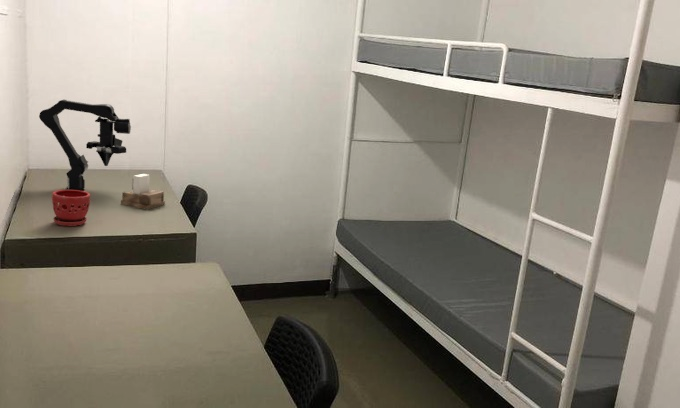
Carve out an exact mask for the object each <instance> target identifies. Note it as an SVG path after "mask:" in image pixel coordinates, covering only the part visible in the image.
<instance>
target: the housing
mask: <svg viewBox="0 0 680 408" xmlns="http://www.w3.org/2000/svg"><path fill="white" fill-rule="evenodd" d="M164 197H165V193H164V191H163V190H157V189H152V190H149V191H148V192H144V193H140V194H139V195H138V194H133V192H129V191H123V192H122V199H121V200H120V204H121V205H125V206H130V207H133V208H139V209H142V210H149V209H153V208H157V206H158V207H160V206H164V204H165V205H166V201H165V200H164V199H165V198H164Z"/></svg>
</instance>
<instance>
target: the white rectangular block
mask: <svg viewBox="0 0 680 408" xmlns="http://www.w3.org/2000/svg"><path fill="white" fill-rule="evenodd" d="M150 180H151V178H150V174H147V173H141V174H136V175H133V177H132V184H131V185H132V188H131V189H132V193H133V194H138V195H139V194H140V193H144V192H148V191H150Z"/></svg>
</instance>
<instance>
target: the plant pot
mask: <svg viewBox="0 0 680 408" xmlns="http://www.w3.org/2000/svg"><path fill="white" fill-rule="evenodd" d="M51 198H52V208H53V212H54V215H55V216H54V217H53V221H54V223H56V224H57V225H59V226H64V227H76V226H80V225H81V226H82V225H84V224H85V223H86V222H87V220H88V219H87V217H86V216H87V214H88V212H89V208H90V204H91V194H90V193H89V192H88V191H85V190H68V189H60V190H55V191H53V192H52V196H51Z"/></svg>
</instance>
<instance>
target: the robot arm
mask: <svg viewBox="0 0 680 408" xmlns="http://www.w3.org/2000/svg"><path fill="white" fill-rule="evenodd" d="M64 110H69V111H74V112H82V113H88V114H92V115H95V116H96V117H97V119H95V120H94V122H95V123H99V133H97V137H99V141H96V140H94V141H88V142H87V143H86V144H85V145H86V149H90V150H92V149H93V148H96V150H95V152H96V153H97V154H98V155H99V158H100V160H101V162H102V163H103V165H104V166H105V167H107V166H108V165H109V163H110V160H111V158H112V156H113V155H114V154H117V155H118V154H119V155H120V154H124V153H126V154H127V148H126V146H123V145H122V144H123V140H122V139H119V138H117V137H116V134H127V135H130V134H131V130H132V129H131V128H132V126H131V122H130V121H131V120H130V118H119V117H118V116H117V114H116V113H115V108H114V106H113V105H112V104H108V103H100V104H99V103H98V104H97V103H96V104H91V103H85V102H79V101H72V100H67V99H61V100H58V101H57V103H55V104H54V105H52V106H50V107H49V108H46V109H43V110H41V111H40V112H39V116H38V117H39V119H40V121H41V122H42V123H43V124H44V126H45V127H46V128H48V129H49V130H50V131H51V132H52V134H53V135H54V137H55V139H56V140H57V143H59V146H60V147H61V148H62V150H63V151H64V153H65V155H66V157H67V158H68V162H69V163H68V164H69V166H70V168H71V169H69V171H67V172H66V173H65V174H66V177H67V186H66V189H67V188H68V189H67V190H79V191H85V185H86V184H85V183H86V182H85V180H86V179H84V176H83V175H84V173H85V172H86V171H88V169H89V161H88V160H86V157H85V155H84V154H82V155H80V154H79V153H78V152H77V150H76V149H75V148H74V146H73V144H72V142H71V140H70V139H69V137H68V136H67V134H66V132H65V130H64V129H63V128H62V126H61V123H60V118H59V114H61V113H62V112H63V111H64ZM114 132H116V134H114Z"/></svg>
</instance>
